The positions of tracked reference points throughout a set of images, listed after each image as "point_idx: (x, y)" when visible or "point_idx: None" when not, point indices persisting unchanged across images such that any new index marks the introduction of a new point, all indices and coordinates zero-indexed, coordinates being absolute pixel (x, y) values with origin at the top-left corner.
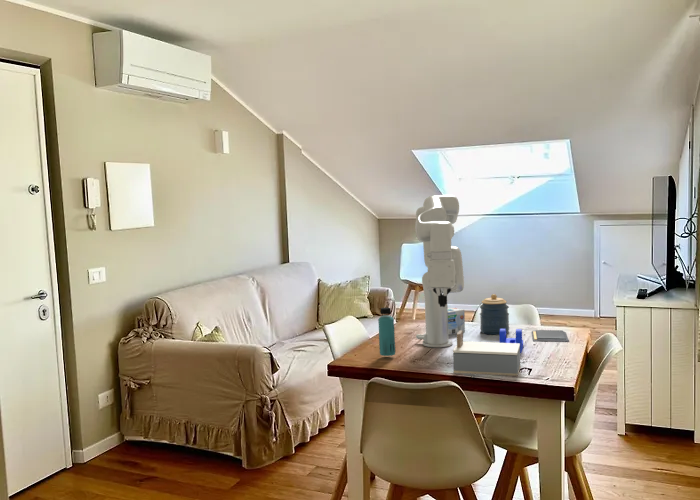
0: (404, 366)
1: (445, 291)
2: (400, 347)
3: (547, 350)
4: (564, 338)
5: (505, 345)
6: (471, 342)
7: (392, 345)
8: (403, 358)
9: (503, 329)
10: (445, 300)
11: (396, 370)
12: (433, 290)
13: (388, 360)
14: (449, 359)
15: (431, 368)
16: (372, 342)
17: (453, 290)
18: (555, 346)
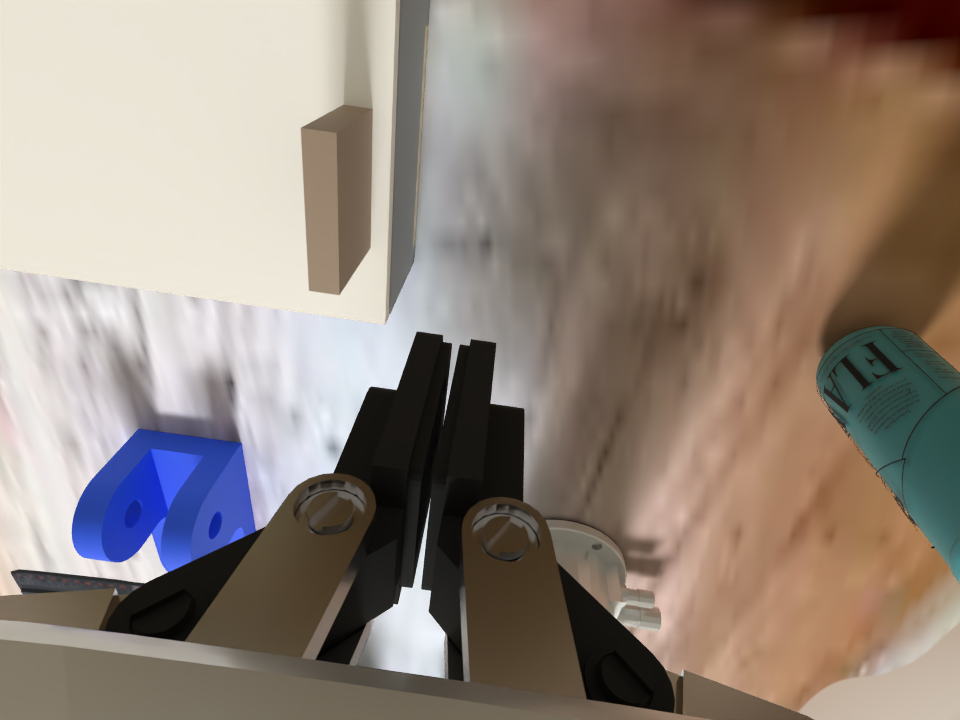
0: (778, 154)
1: (285, 574)
2: (744, 530)
3: (43, 468)
4: (26, 592)
5: (20, 197)
6: (291, 289)
7: (872, 372)
8: (757, 340)
9: (170, 553)
10: (371, 426)
11: (859, 34)
12: (657, 672)
13: (864, 296)
14: (480, 322)
15: (589, 110)
16: (878, 606)
17: (50, 597)
18: (36, 520)
